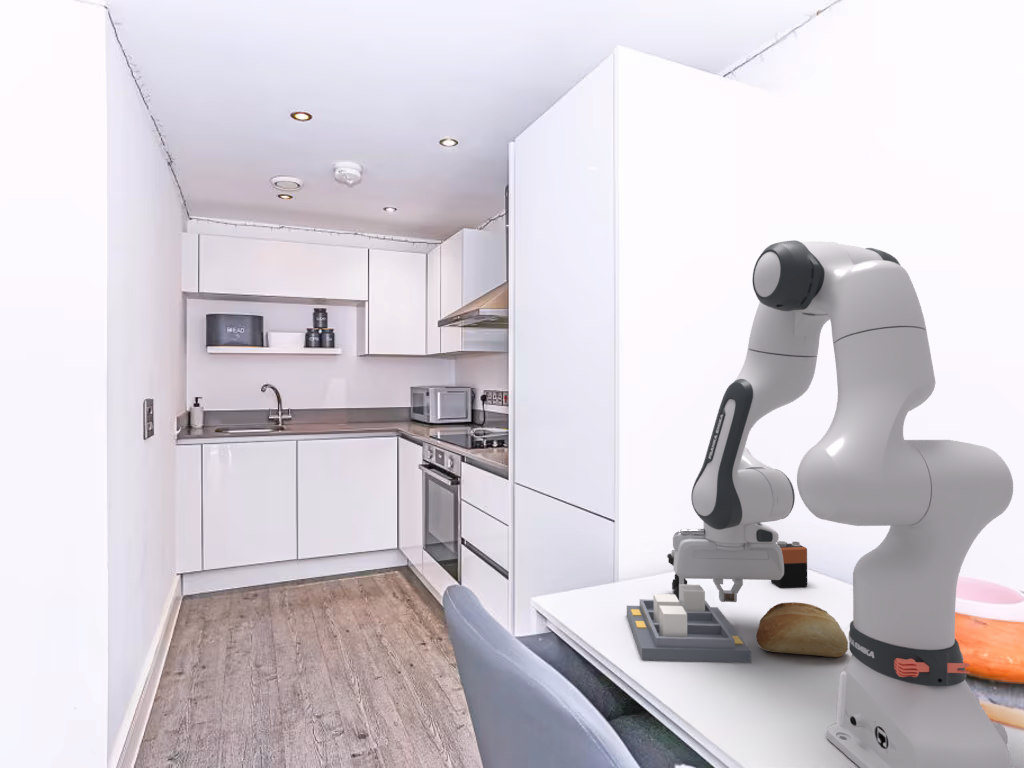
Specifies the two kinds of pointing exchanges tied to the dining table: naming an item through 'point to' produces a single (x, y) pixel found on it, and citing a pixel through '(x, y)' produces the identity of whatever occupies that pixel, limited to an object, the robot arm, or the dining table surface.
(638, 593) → the dining table surface
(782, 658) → the dining table surface
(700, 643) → the switch bank
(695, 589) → the tab
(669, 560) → the push button
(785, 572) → the battery
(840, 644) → the bread roll
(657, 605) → the tab
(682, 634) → the tab
